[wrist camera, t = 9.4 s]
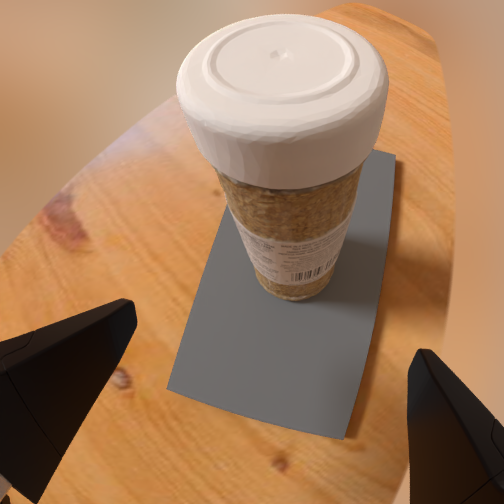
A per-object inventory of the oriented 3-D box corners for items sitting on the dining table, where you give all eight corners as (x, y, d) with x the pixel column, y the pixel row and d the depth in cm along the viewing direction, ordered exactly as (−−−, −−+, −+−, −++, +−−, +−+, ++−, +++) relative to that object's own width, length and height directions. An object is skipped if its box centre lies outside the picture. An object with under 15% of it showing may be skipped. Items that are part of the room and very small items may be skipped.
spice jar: (321, 219, 19) (340, 1, 6) (343, 292, 17) (435, 112, 5) (245, 236, 19) (169, 31, 7) (262, 312, 17) (175, 161, 5)
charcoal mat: (341, 437, 15) (343, 440, 14) (170, 388, 17) (166, 389, 16) (393, 160, 20) (395, 155, 20) (256, 133, 22) (255, 128, 22)
